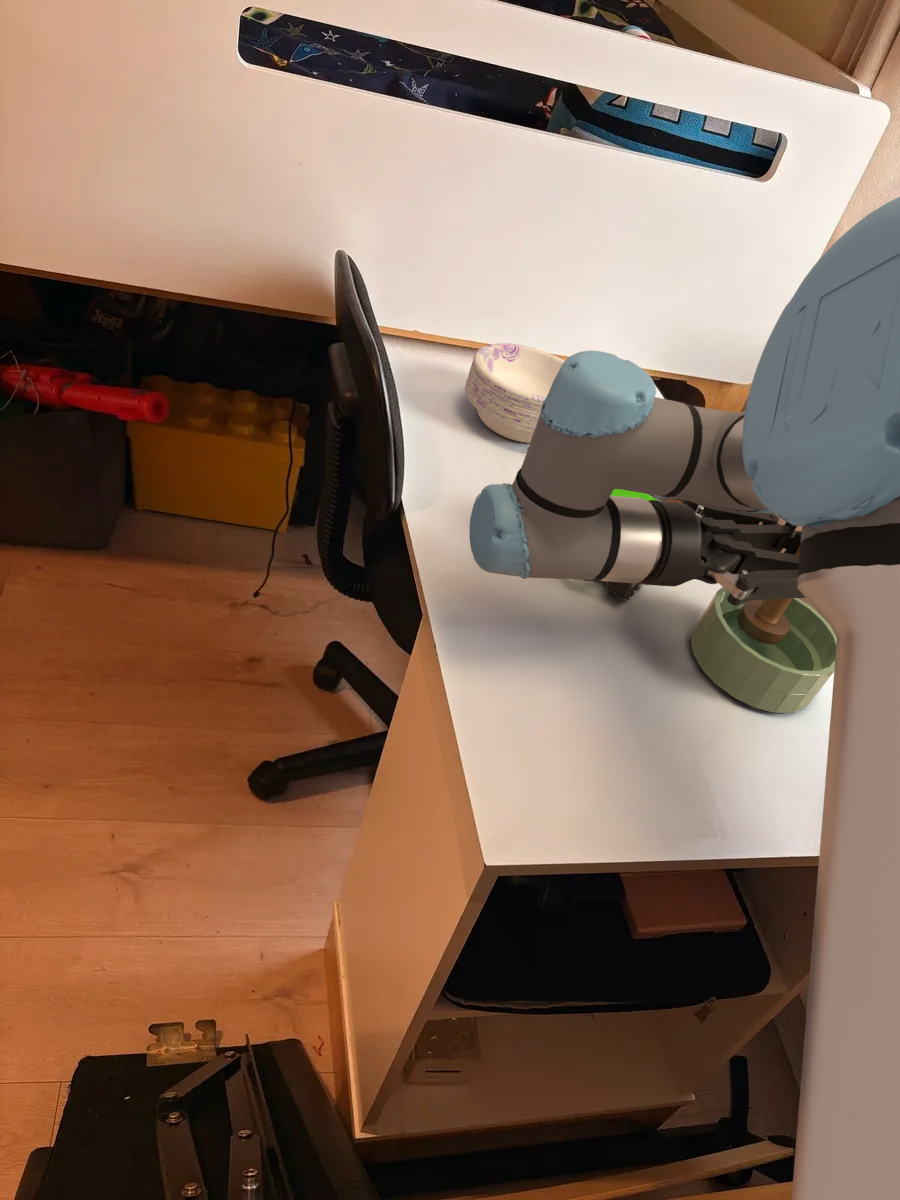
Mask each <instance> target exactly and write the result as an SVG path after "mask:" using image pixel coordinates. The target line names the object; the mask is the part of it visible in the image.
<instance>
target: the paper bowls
mask: <svg viewBox="0 0 900 1200" xmlns="http://www.w3.org/2000/svg"><path fill="white" fill-rule="evenodd" d="M564 362H565V360H564V359H562V358H560V357H558V356H557V355H554V354H552V353H550V352H547V351H544V350H541V349H538V348H535V347H531V346H527V345H523V344H517V343H505V342H502V343H501V342H499V343H491V344H487V345H484V346H482V347H479V349H477V350H476V352H475V353H474V355H473V358H472V362H471V365H470V368H469V372H468V374H467V379H466V381H465V382H466V383H465V387H464V393H465V396H466V397H467V399H468V400H469V402H470V403H471V404H472V405H473V407H475V409H476V411H477V415H478V417H479V419H480V420H481V421H482V423H483V424H484V425H485V426H486V427H487V428H488V429H490V430H491V431H493V432H494V433H496V434H497V435H500V436H501V437H504V438H506V439H509V440H512V441H516V442H518V443H519V442H520V443H527V444H530V442H531V439H532V436H533V433H534V430H535V427H536V425H537V422H538V419H539V416H540V413H541V407H542V404H543V403H544V400H545V398H546V397H547V395H548V393H549V390H550V388H551V386H552V383H553V381H554V379H555V377H556V375H557V374H558V372H559V370H560V368H561V366H562V364H563V363H564Z"/></svg>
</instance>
